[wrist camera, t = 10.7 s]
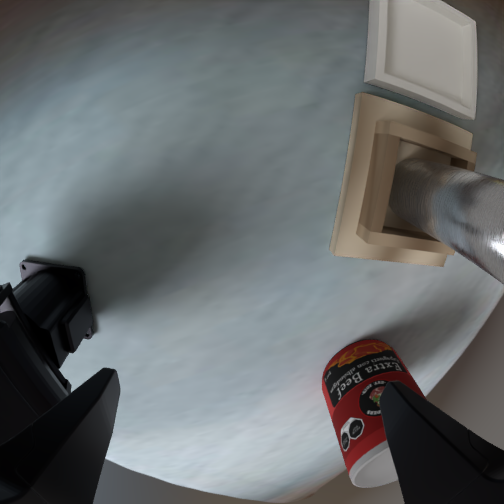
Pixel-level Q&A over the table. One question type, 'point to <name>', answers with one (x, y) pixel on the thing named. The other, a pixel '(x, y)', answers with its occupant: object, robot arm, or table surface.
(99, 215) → the table surface
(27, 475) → the robot arm
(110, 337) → the table surface
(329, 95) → the table surface
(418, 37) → the tray
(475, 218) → the cylinder
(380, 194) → the wooden socket base
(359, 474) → the canned food
